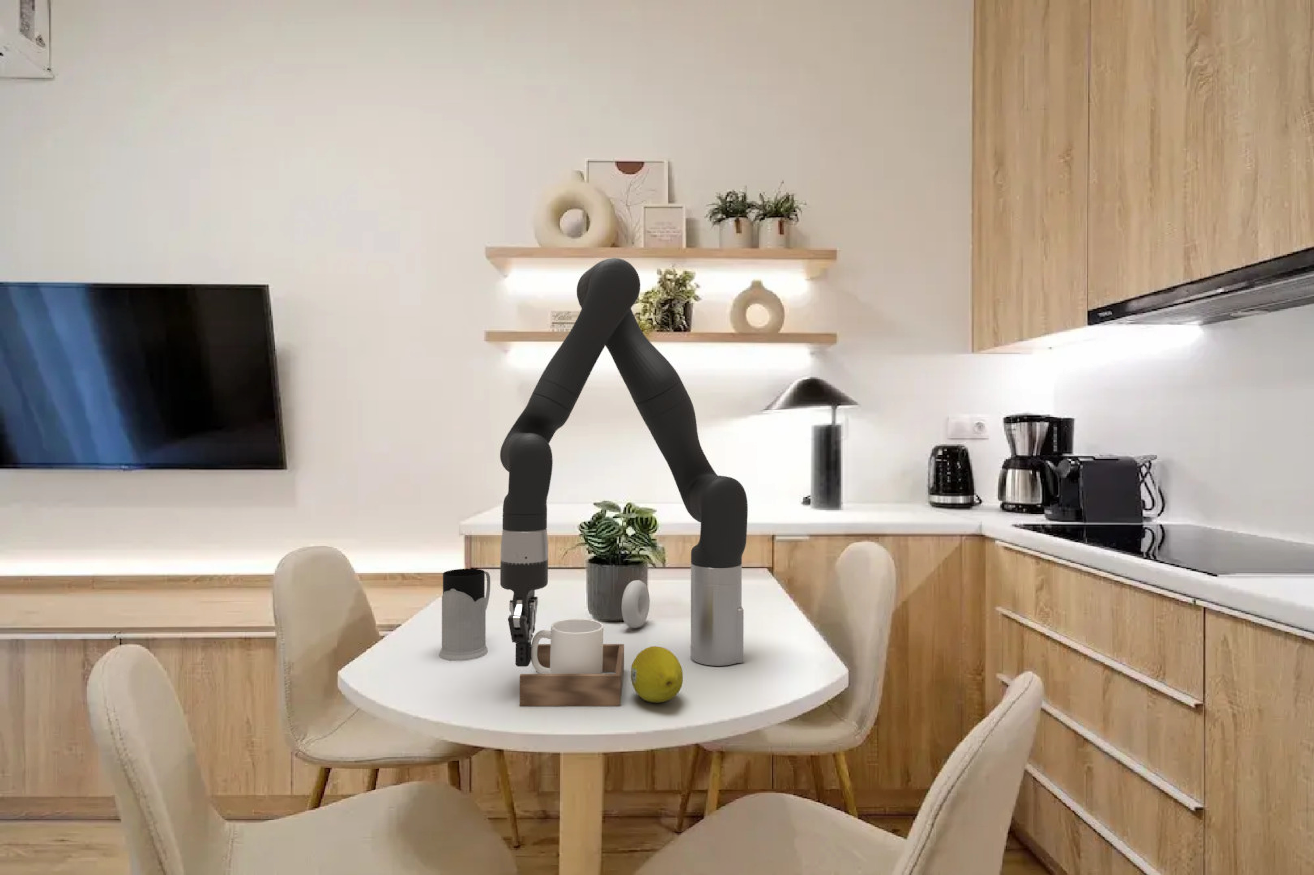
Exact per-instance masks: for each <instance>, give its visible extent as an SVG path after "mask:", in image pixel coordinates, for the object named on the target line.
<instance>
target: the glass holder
mask: <svg viewBox="0 0 1314 875" xmlns="http://www.w3.org/2000/svg"><path fill="white" fill-rule="evenodd" d="M485 578H486V579H485ZM485 581H486V583H485ZM485 585H486V587H485ZM485 589H486V592H485ZM490 592H491V575H490V573H489V572H488V571H486V570H483V569H479V568H458V569H457V568H455V569H450V570H446V571H444V572H443V573H442V595H441V649H440V651H439V655H438V656H439V658H441V659H443V660H446V661H452V662H455V661H456V662H458V661H459V662H460V661H461V662H462V661H470V660H476V659H479V658H482V657H484V656H486V655H487V654H488V652H489V650H488V647H487V644H486V643H487V642H486V638H487V637H486V630H487V629H486V625H487V624H486V615H487V614H486V611H487V610H488V604H489V599H490V594H491V593H490Z"/></svg>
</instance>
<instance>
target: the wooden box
mask: <svg viewBox="0 0 1314 875" xmlns="http://www.w3.org/2000/svg"><path fill="white" fill-rule="evenodd" d="M550 647H551V643H546V644H545V643H544V644H543V643H542V644H541V643H539V644H538V648H537V658H538V661H539V663H540V665H541V666H543V667H546V668H550ZM535 672H536V673H521V674H520V675H519V707H620V706H621V703H622V699H621V698H622V694H623V693H622V691H623V684H624V682H623V681H624V673H625V644H624V643H603V666H602V674H540V673H538V672H537V671H536V670H535ZM606 672H608V673H606Z"/></svg>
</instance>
